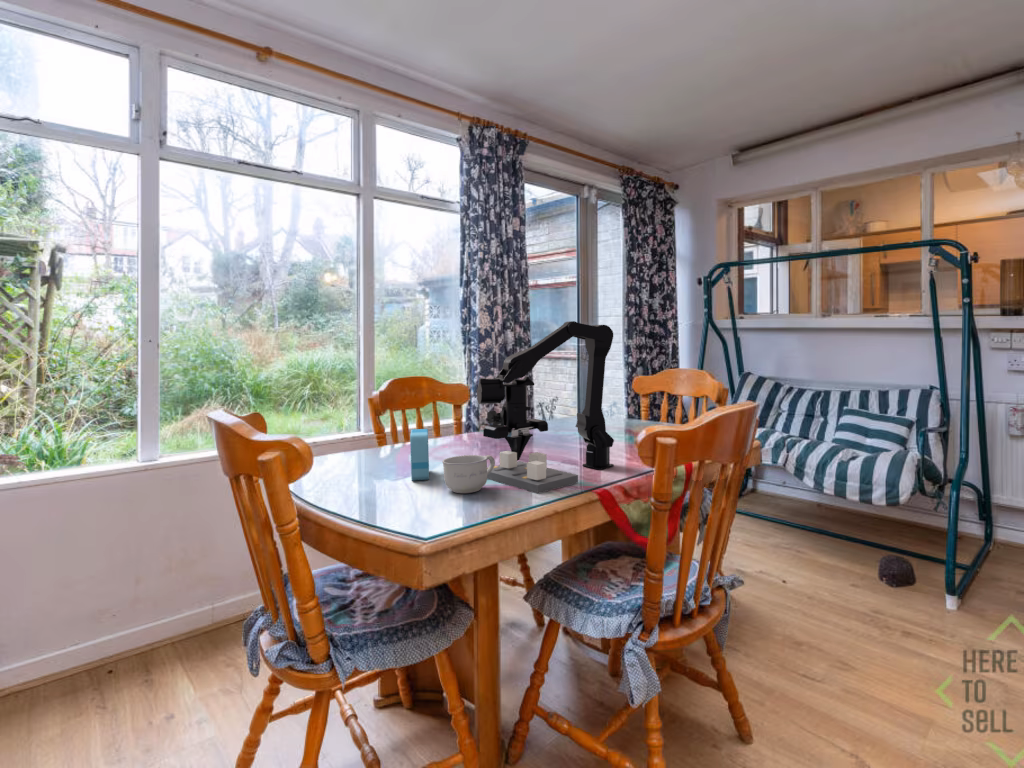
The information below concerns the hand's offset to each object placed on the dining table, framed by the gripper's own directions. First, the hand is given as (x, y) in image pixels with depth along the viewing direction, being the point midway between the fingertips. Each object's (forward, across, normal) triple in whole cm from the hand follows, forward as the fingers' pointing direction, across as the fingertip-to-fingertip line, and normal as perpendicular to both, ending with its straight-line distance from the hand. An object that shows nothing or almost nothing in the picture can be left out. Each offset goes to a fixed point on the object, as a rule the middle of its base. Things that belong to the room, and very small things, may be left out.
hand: (516, 460), depth 156 cm
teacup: (+4, +18, +4) cm, 19 cm away
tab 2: (+1, +6, +14) cm, 15 cm away
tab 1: (+1, +3, 0) cm, 3 cm away
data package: (+4, +20, -16) cm, 26 cm away
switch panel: (+4, +2, +7) cm, 8 cm away
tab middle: (+1, -1, +7) cm, 7 cm away
